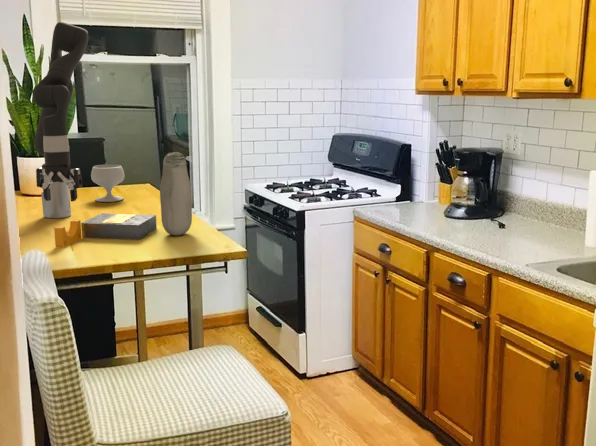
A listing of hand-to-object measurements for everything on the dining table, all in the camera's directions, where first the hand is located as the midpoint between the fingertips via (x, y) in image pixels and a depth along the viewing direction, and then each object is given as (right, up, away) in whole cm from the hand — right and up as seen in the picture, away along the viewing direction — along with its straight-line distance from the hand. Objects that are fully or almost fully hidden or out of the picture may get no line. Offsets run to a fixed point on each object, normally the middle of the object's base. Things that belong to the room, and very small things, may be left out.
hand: (60, 200), depth 205 cm
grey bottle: (+35, -11, +14) cm, 39 cm away
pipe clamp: (+1, -14, +3) cm, 14 cm away
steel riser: (+15, -11, +16) cm, 24 cm away
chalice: (-7, +3, +76) cm, 76 cm away
